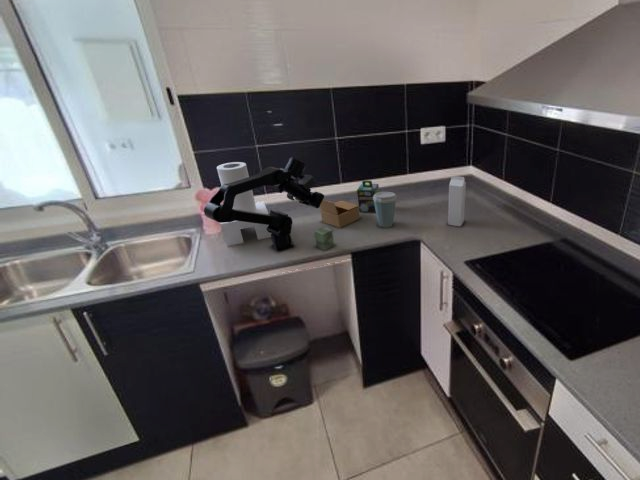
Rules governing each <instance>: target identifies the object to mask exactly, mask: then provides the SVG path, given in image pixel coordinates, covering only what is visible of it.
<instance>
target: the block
mask: <svg viewBox="0 0 640 480" xmlns="http://www.w3.org/2000/svg"><path fill="white" fill-rule="evenodd" d="M314 238H315V243H316V244H315V245H316V248H319V249H321V250H324V251H326V250H328V249H330V248H333V247H334V246H335V239H334V232H333V229H330V228H328V227H325V226H324V227H321V228H319V229H317V230H314Z"/></svg>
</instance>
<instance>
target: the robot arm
mask: <svg viewBox="0 0 640 480" xmlns="http://www.w3.org/2000/svg"><path fill="white" fill-rule="evenodd" d="M306 167H307V165H306V163H305V162H303V161H300V160H298V159H296V158H295V157H292V156H290V158H289V159H288V163H287V164H286V166H285V168H283V167H278V168H277V167H274V166H268V167H266V168H263V169H261V170H260V171H259V172H258V173H257V174H254V175H251V176H249V177H248V178H244V179H241V180H238V181H235V182H231V183H228V184H223V185H221V184H220V187H219V188H218V190H217V191H216V192H215V193H214V194H213V195H212V197H211V198H210V199H209V201H208V202H207V204H206V205H205V206H204V208H203V213H204V215H205V217H206V218H208V219H211V220H213V221H214V222H217V223H219V224H220V223H225V222H232V221H242V222H250V223H258V224H266V225H268V226H267V228H266V229H267V231H268V232H269V233H272V234H271V237H270V238H271V242H272V244H271V247H272V248H273V249H274V250H276V251H277V252H281V251H285V250H287V249H290V248H292V247H294V245H293V241H292V235H291V234H292V227H293V219H292V217H291V216H289V214H287V213H284V212H282V211H279V210H277V211H275V210H272V209H270V211H269V212H268V213H269V214H262V213H256V212H249V211H243V210H236V209H232V208H233V204H234V198H235V196H236V195H238V194H241V193H244V192H247V191H250V190H252V191H253V190H256V189H259V188H263V187H267V186H274V190H275V192H276V193H278V194H279V193H280V194H282V193H283V192H285V193H286V198H287V199H289V200H290V201H298V203H299V204H302V205H306V206H308V207H312V208H315V209H320V207H319V206H320V204H321V203H322V201H323V199H324V200H325V194H323V193H322V192H319V191H312V189H311V188H312V187H313V186H314V185H316V184H317V180H316V179H315V177H314V176H313V175H311V174H303V173H304V171H305V169H306ZM297 181H298V182H297ZM221 203H222V204H221Z"/></svg>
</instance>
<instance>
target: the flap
mask: <svg viewBox="0 0 640 480" xmlns="http://www.w3.org/2000/svg"><path fill="white" fill-rule="evenodd" d="M334 203H335V202H333V201H330V200H327V199H325V198H324V199H323V201H322V203H321V204H320V206H319V209H320V210H325V211H328V212H331V213H334V214H337V215H338V212H337V210H336V207H335V204H334Z"/></svg>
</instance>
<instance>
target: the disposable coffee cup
mask: <svg viewBox="0 0 640 480" xmlns="http://www.w3.org/2000/svg"><path fill="white" fill-rule="evenodd" d="M397 199H398V195H396V193H395V192H391V191H379V193H376V194H375V195H374V196H373V200H374V205H375V210H376V212H375V215H376V221H377V224H378V226H379V227H380V228H390V227H392V226H393V224H394V218H395V210H396V203H397V202H396V201H397Z"/></svg>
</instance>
